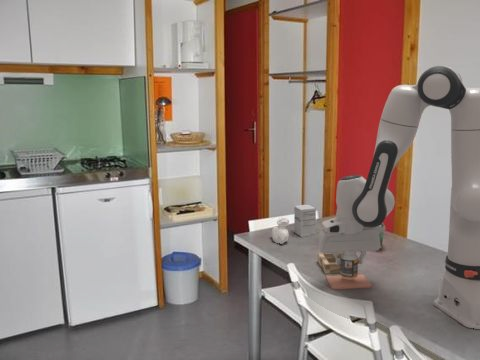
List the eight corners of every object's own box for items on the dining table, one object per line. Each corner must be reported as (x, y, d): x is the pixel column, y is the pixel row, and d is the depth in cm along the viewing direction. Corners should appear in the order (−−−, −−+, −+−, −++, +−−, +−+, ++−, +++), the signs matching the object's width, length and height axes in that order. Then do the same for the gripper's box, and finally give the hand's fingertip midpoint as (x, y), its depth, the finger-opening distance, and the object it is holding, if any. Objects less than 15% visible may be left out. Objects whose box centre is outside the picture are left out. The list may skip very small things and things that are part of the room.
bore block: (357, 272, 167) (357, 263, 166) (325, 274, 166) (325, 264, 165) (348, 260, 178) (348, 251, 177) (317, 261, 177) (317, 253, 177)
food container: (391, 250, 187) (392, 226, 185) (378, 252, 185) (379, 228, 183) (372, 240, 199) (372, 218, 196) (359, 243, 196) (360, 220, 194)
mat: (371, 287, 154) (371, 285, 154) (332, 289, 154) (332, 287, 153) (362, 276, 163) (362, 274, 163) (325, 278, 162) (325, 276, 162)
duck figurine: (287, 250, 196) (302, 227, 197) (274, 242, 193) (289, 219, 194) (275, 241, 207) (289, 220, 208) (262, 233, 204) (276, 212, 205)
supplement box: (293, 232, 212) (293, 205, 210) (308, 230, 214) (308, 203, 212) (300, 237, 205) (300, 209, 203) (316, 235, 208) (316, 207, 205)
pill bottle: (357, 280, 155) (358, 252, 153) (339, 279, 156) (340, 251, 154) (357, 273, 160) (357, 246, 158) (339, 272, 161) (340, 245, 159)
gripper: (377, 219, 158) (376, 258, 161) (317, 222, 157) (317, 261, 159) (384, 225, 152) (382, 265, 154) (321, 228, 150) (321, 269, 153)
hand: (348, 263), depth 157 cm, fingers closed on pill bottle, 6 cm apart
